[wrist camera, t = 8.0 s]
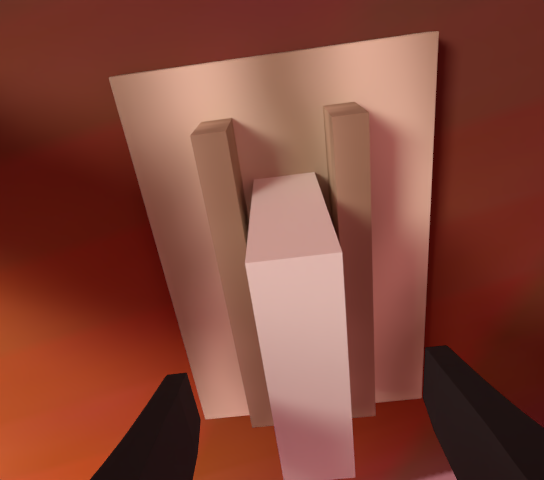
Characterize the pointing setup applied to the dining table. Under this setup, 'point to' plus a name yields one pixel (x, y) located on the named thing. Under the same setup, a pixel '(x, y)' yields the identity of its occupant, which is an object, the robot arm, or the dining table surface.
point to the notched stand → (280, 162)
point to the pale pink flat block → (301, 325)
